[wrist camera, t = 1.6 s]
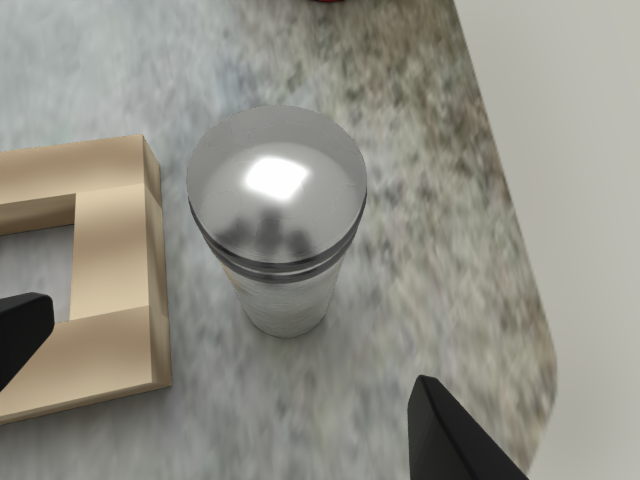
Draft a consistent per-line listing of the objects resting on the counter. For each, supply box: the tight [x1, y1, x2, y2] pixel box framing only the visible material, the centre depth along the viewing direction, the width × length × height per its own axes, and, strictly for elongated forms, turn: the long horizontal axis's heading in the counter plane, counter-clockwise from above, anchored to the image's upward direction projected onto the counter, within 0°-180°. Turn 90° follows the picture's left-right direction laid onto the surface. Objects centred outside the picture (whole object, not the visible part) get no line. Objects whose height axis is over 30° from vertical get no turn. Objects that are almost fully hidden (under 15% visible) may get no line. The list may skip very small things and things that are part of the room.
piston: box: [186, 105, 367, 338], centre depth 16 cm, size 5×5×12 cm
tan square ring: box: [0, 134, 172, 425], centre depth 19 cm, size 14×14×3 cm
